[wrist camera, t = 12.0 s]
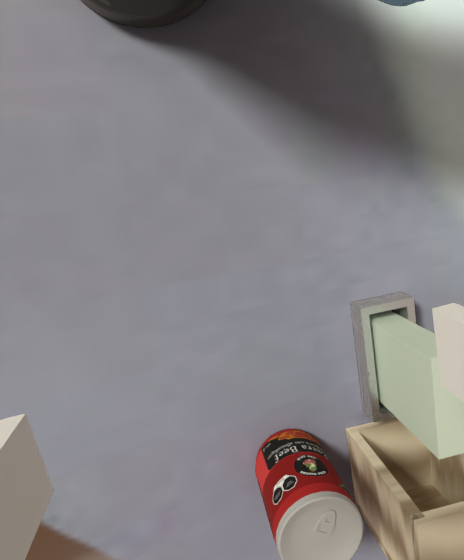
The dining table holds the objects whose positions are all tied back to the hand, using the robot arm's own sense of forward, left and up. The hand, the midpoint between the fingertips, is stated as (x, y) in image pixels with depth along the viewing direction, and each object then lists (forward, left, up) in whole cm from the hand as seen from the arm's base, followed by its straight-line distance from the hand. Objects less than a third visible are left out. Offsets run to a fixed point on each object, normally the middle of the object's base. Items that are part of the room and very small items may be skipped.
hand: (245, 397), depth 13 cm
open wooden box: (+26, +17, -28) cm, 42 cm away
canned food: (+23, +5, -28) cm, 37 cm away
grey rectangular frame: (+13, +17, -28) cm, 36 cm away
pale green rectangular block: (+13, +17, -28) cm, 36 cm away
